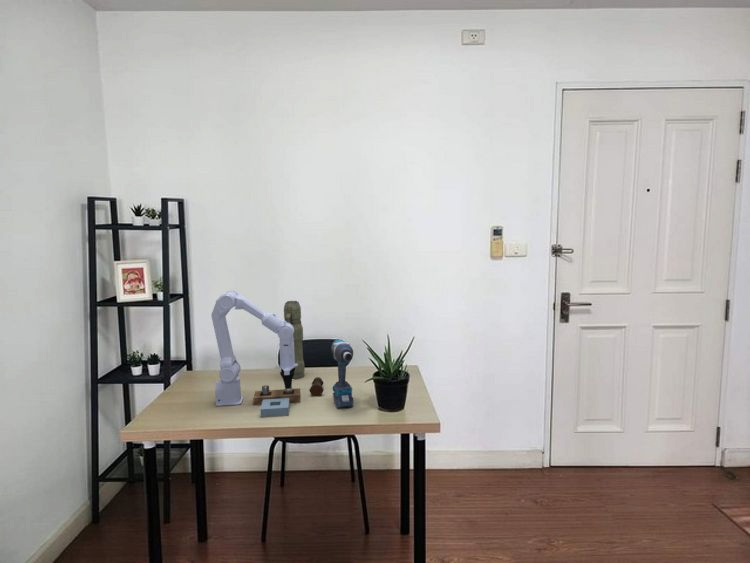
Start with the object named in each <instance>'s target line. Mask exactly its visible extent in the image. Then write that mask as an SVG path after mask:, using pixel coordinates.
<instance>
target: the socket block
mask: <svg viewBox="0 0 750 563" xmlns="http://www.w3.org/2000/svg"><path fill="white" fill-rule="evenodd" d="M290 404H291V403H289V398H281V399H265V400H263V401H262V405H260V411H259V412H260V418H267V417H268V418H269V417H270V418H271V417H284V416H285V417H286V416H289V415H290V414H289V413H290V406H291V405H290Z"/></svg>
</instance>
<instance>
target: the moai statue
mask: <svg viewBox="0 0 750 563" xmlns="http://www.w3.org/2000/svg"><path fill="white" fill-rule="evenodd" d="M283 320H285V321H286V323H290V324H291V325H292V326H293V327H294V333H293V338H294V340H293V342H294V357H295V364H298V366H297V367H295V370H294V371H295V373H294V376H293V379H295V380H300V379H303V378H304V377H305V369H306V368H305V361H304V352H303V340H304V329H303V328H304V327H303V325H302V308H301V305H300V302H299V301H297V300H289V301H286V302H285V303H284V306H283Z"/></svg>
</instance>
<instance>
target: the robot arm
mask: <svg viewBox="0 0 750 563" xmlns="http://www.w3.org/2000/svg"><path fill="white" fill-rule="evenodd" d="M233 308H234V310H243V311H245V312H247V313H249V314H251V315H252V316H254V317H255V318H257V319H259V320H260V321H261V325H263V327H265V328H267V329H268V330H270V331H271V332H273V333H274V334H277V336H278V337H277V338H279V343H278V344H279V345H278V346H279V368H280V372H279V374H280V376H281V378H282V381H283V384H284V389H285V388H286V389H291V386H292V387H293V380H292V379H293V376H294V373H295V371H294V370H295V367H297V366H298V364H295V357H294V342H293V340H294V338H293V333H294V327H293V326H292V325H291V324H290V323H286V321H285V319H282V318H280V317H278V316H277V313H275V312H273V313H272V312H271V311H270V312H265V311H264V310H263V309H261V308H260V307H259V306H257V305H256V304H255V303H253V302H252V301H250V300H249V299H248V298H246V297H244V296H243V295H242V294H240V293H239V294H238V292H237V291H235V290H228V291H226V292H225V293H223V294H221V295H220V296H219V297H218V298H217V299H216V301H215V304H214V306H213V309H212V312H211V320H212V325H213V330H214V333H215V339H216V343H217V349H218V353H219V358H220V359H219V360H220V361H219V367H220V370H219V379H220V380H216V382H215V386H214V387H215V403H216V404H215V406H216V407H220V406H222V407H223V406H234V405H235V406H236V405H237V406H238V405H241V404H242V402H243V400H244V396H242V391H241V388H242V386H241V377H240V375H239V374H240V372H241V365H240V363H239V362H238V360H237V357H236V355H235V354H234V350H233V345H232V341H231V335H230V332H229V331H230V330H229V327H228V323H227V322H228V321H227V317H226V316H227V315H228V314H229V312H231V310H233Z"/></svg>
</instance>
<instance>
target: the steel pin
mask: <svg viewBox="0 0 750 563" xmlns="http://www.w3.org/2000/svg"><path fill="white" fill-rule="evenodd" d="M284 389H285V394H292V389H293V385H292V386H291V389H286V388H285V387H284Z"/></svg>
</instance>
